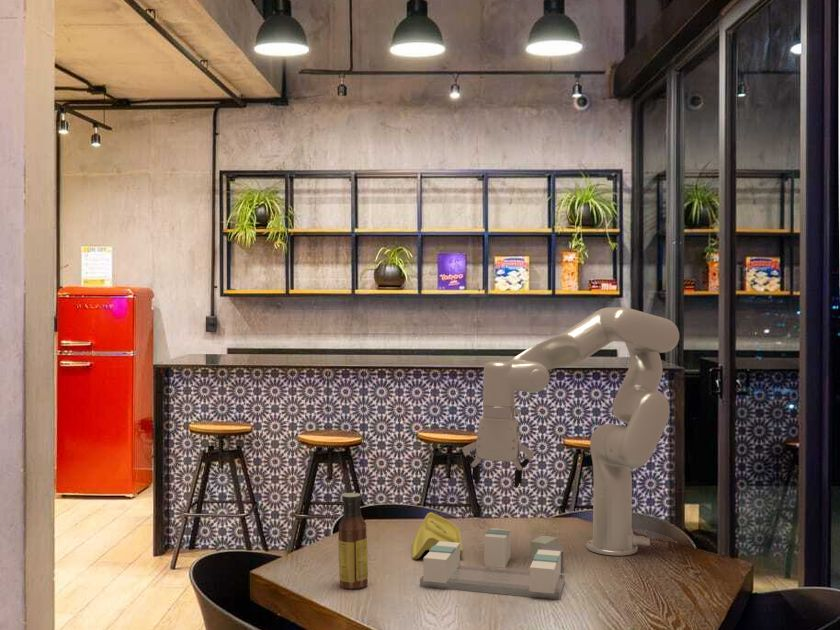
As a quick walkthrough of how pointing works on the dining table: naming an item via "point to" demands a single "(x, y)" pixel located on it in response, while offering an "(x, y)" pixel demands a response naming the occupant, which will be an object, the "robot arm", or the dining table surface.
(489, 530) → the block
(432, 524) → the plastic component
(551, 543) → the block
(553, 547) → the block
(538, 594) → the rail
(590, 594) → the dining table surface
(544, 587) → the mounted module
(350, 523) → the sauce bottle
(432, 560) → the block
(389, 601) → the dining table surface
